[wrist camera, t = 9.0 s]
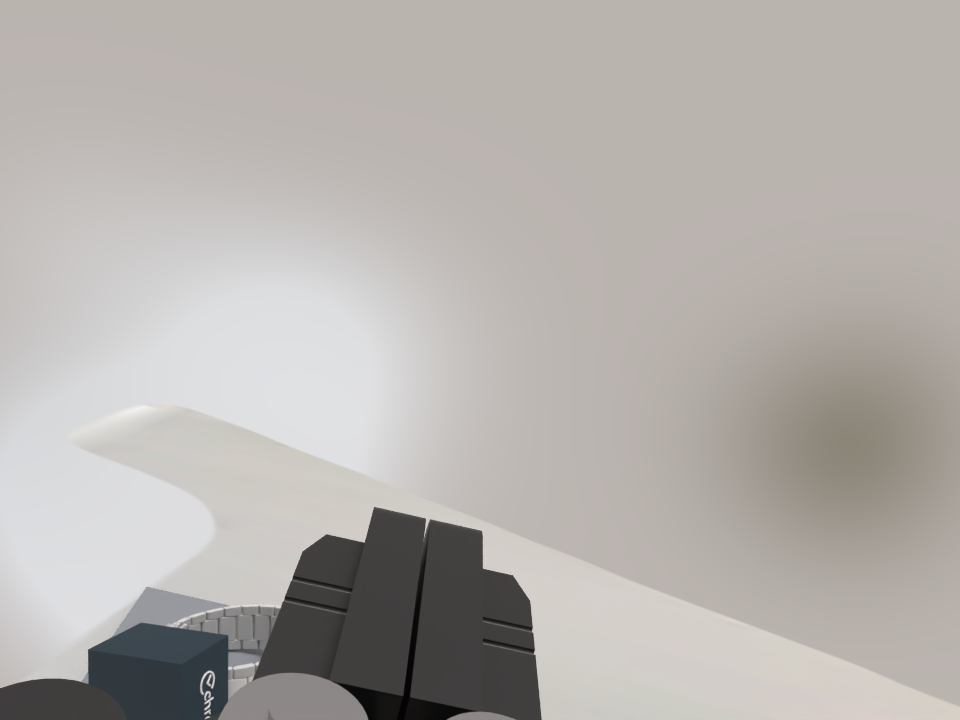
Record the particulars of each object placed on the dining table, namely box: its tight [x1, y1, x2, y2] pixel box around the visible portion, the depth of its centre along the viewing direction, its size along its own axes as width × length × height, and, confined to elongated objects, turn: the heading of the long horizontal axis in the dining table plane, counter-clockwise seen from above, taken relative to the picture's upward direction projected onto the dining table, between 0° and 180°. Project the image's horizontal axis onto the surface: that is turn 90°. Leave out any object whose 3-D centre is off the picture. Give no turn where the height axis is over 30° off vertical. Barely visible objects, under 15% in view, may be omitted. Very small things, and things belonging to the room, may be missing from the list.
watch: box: [88, 602, 283, 720], centre depth 38 cm, size 6×8×11 cm
